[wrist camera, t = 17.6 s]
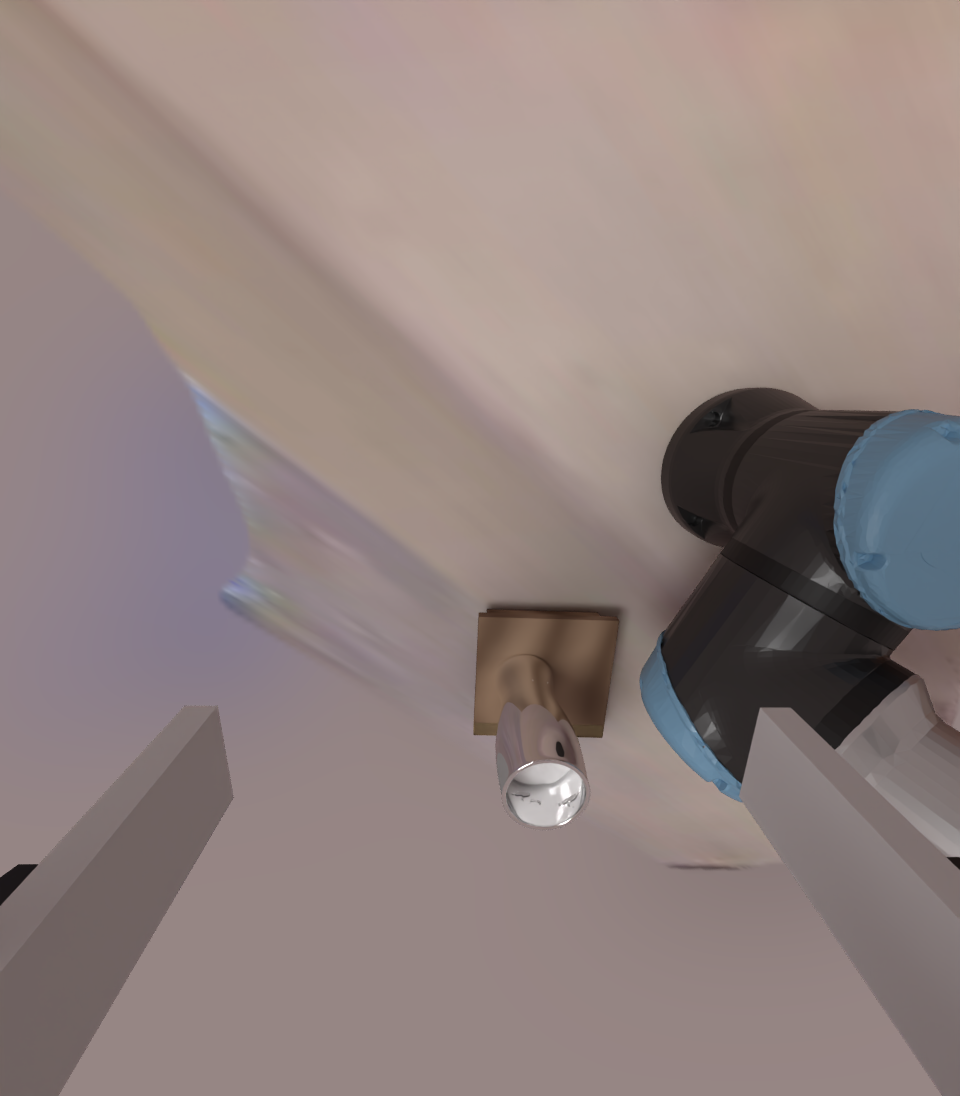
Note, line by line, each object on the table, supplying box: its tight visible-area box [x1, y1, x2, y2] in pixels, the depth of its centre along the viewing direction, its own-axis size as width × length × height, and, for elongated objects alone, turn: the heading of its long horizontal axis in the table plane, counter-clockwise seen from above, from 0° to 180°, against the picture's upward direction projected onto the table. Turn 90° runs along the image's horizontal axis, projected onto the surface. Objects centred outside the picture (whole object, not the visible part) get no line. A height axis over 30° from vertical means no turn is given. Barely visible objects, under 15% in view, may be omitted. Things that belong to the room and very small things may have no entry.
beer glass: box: [495, 655, 590, 830], centre depth 42 cm, size 7×7×15 cm
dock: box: [474, 609, 619, 738], centre depth 51 cm, size 14×14×4 cm
